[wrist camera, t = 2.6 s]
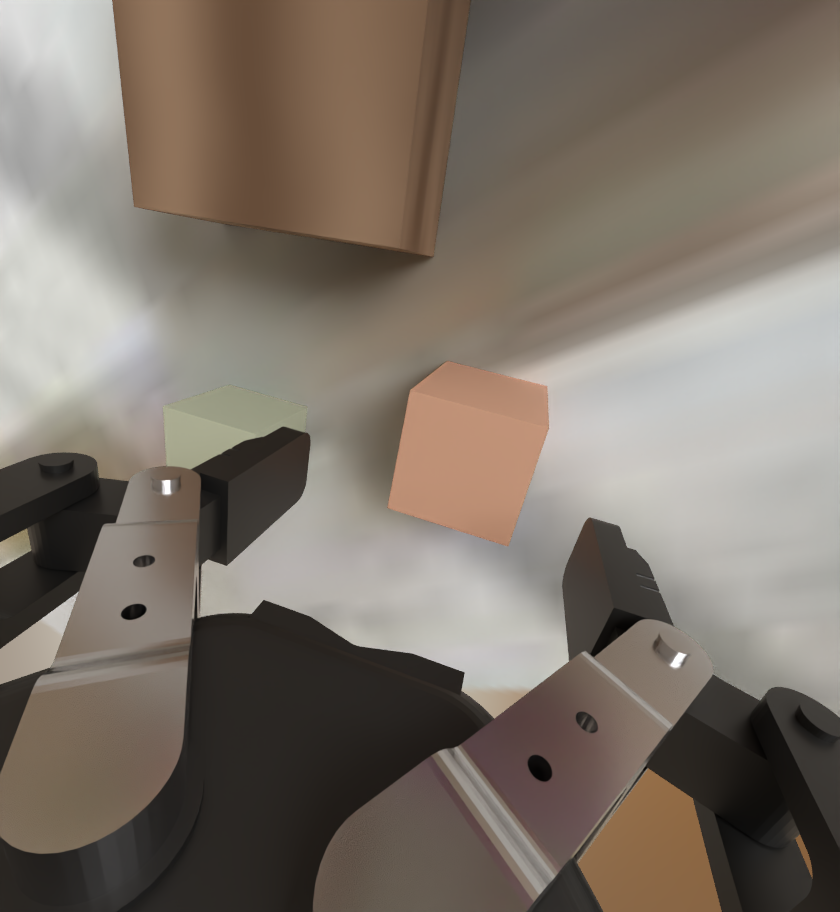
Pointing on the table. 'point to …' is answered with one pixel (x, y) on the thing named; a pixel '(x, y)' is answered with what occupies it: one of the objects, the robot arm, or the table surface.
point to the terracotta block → (469, 450)
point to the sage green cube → (223, 423)
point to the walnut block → (294, 113)
